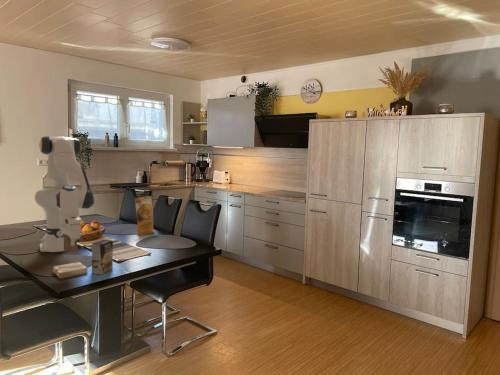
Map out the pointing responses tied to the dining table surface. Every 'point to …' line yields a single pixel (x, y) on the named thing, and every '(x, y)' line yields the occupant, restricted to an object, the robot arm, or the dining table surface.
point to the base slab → (69, 270)
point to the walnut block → (67, 244)
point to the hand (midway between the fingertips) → (70, 244)
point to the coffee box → (102, 256)
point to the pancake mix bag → (144, 215)
